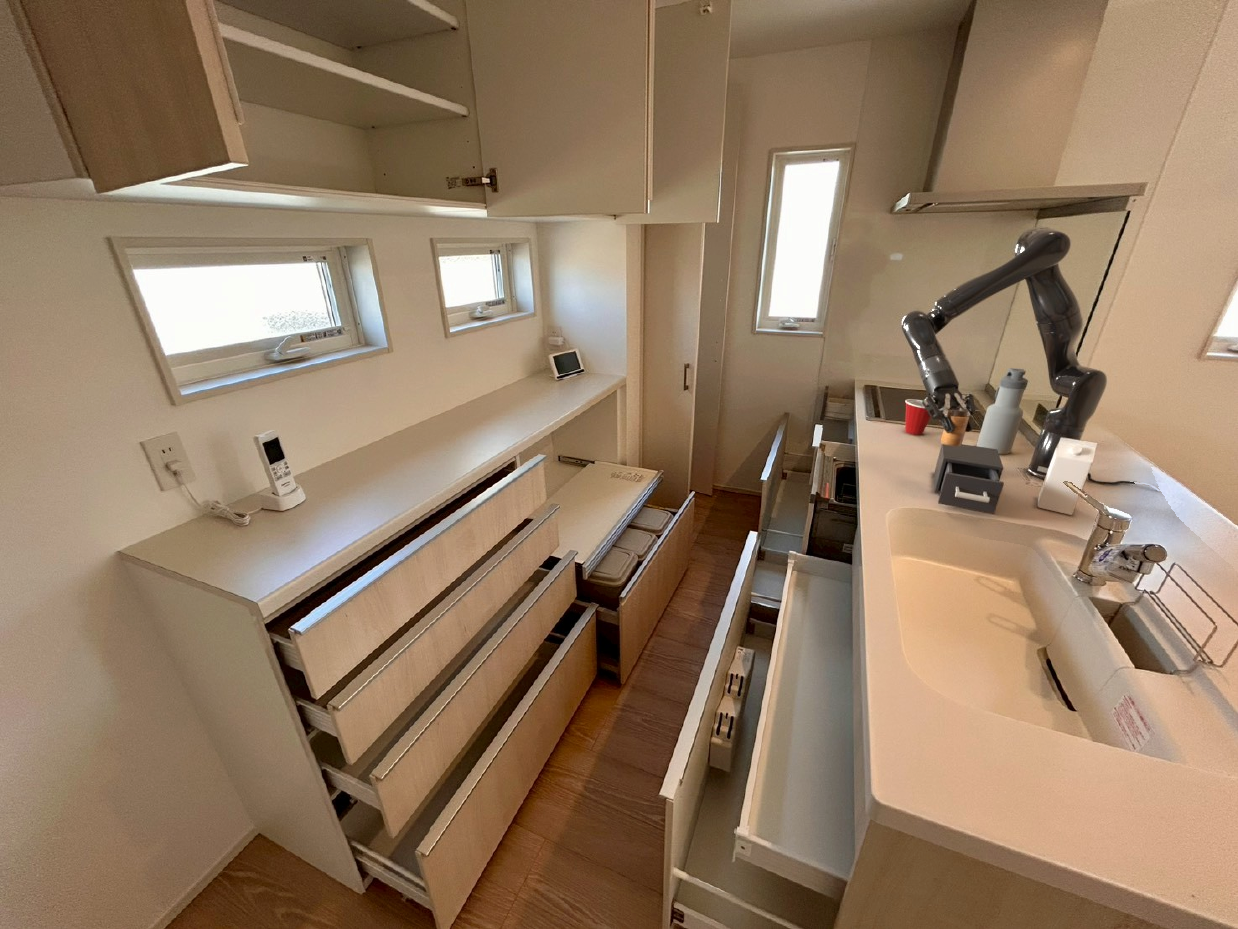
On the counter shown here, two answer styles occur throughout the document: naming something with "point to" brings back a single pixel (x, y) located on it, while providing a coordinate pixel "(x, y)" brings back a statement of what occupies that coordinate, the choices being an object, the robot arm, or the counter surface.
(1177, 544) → the counter surface
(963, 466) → the drawer
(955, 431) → the pepper mill
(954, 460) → the small drawer unit
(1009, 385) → the water bottle
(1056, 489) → the milk carton
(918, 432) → the plastic cup
